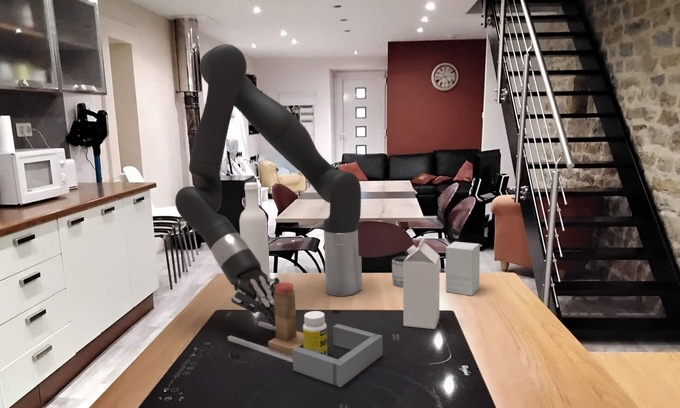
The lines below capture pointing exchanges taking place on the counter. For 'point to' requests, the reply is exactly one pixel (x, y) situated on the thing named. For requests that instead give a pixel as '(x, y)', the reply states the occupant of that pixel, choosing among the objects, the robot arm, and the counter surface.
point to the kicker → (285, 320)
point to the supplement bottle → (315, 332)
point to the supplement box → (462, 268)
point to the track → (262, 348)
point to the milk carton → (421, 287)
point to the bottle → (255, 227)
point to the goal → (346, 367)
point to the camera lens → (398, 270)
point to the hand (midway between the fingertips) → (278, 323)
